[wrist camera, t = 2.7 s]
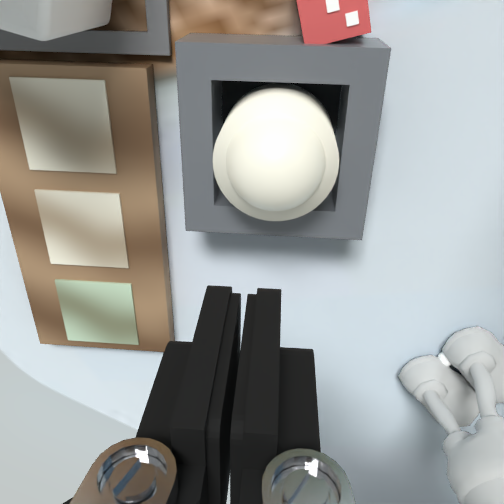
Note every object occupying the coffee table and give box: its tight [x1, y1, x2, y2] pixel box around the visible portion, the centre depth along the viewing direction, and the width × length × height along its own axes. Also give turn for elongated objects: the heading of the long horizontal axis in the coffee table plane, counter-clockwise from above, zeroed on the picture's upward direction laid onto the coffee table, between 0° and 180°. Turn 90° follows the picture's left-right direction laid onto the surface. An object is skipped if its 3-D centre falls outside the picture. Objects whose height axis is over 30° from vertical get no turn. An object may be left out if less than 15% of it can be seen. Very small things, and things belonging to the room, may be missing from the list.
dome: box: [213, 83, 339, 221], centre depth 21 cm, size 5×5×5 cm
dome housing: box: [175, 33, 391, 240], centre depth 24 cm, size 9×9×4 cm
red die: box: [297, 0, 371, 44], centre depth 21 cm, size 3×3×3 cm
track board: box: [0, 59, 175, 352], centre depth 28 cm, size 18×9×1 cm, turn 179°
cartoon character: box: [398, 326, 504, 504], centre depth 23 cm, size 25×12×20 cm, turn 137°
